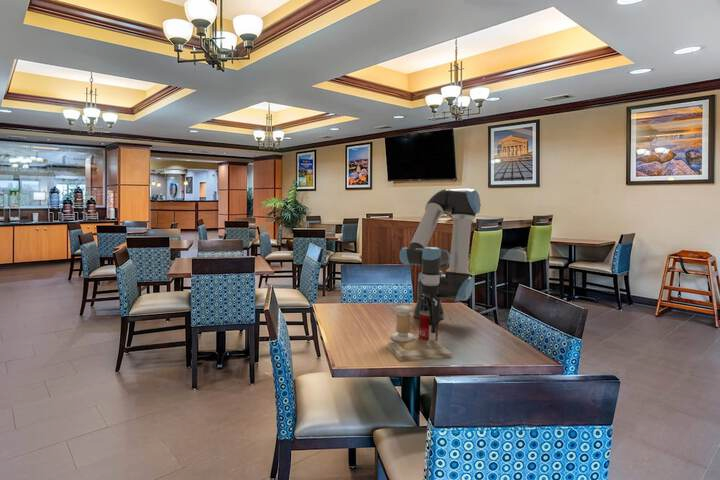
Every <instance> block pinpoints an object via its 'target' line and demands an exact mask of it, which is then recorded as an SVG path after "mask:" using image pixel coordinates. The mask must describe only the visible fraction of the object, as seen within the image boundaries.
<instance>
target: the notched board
mask: <svg viewBox="0 0 720 480" xmlns="http://www.w3.org/2000/svg"><path fill="white" fill-rule="evenodd" d="M426 346H427V347H428V348H429V349H413V350H405V349H404V348H403V347H401V345H400V344H398V342H387V349H389V350H390V352H392V353H391V354H393V355H394V357H396V358H397V359H398V360H399V361H400V362H402V361H417V360H431V359H432V360H433V359H446V358H447V359H448V358H449V359H450V358H452V352H451V351H450V350H448V349H447V348H446V347H445V346H443V345H442V344H441V343H440V342H438V341H436V339H435V340H426Z"/></svg>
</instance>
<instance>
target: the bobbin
mask: <svg viewBox="0 0 720 480" xmlns="http://www.w3.org/2000/svg"><path fill="white" fill-rule="evenodd" d="M393 310H394V311H395V312H397V313H396V320H395V321H396V323H395V325H396V326H395V327H396V328H395V330H396V332H393V333H391V334H390V338H391V339H392V340H393V341H396V342H403V343H407V342H409V343H410V342H413V341H414V340H416V337H415V335H414V334H412V333H410V332H411V317H412V316H411V314H410V313H414V307H413V306H410V305H396V306H394V308H393Z"/></svg>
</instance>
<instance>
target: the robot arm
mask: <svg viewBox="0 0 720 480" xmlns="http://www.w3.org/2000/svg"><path fill="white" fill-rule="evenodd" d="M480 211H481V198H480V194H479V193H478V191H477V189H474V188H472V189H471V188H444V189H441V190H439V191H437V192H436V193H435V194H433V196H431V197H430V199H428V201H427V203H426V204H425V207H424V214H423V215H422V218H421V220H420V221H419V224H418V226H417V228H416V231H415V233H414V234H413V237H412V239H411V241H410V243H409V245H408V247H407V246H406V247H405V246H404V247H402V248H401V249H400V251H399V261H400V263H401V264H403V265H404V264H405V265H410V266H411V265H412V266H421V272H419V274H418V276H417V277H418V278H417V279H418V280H417V301H416V304H415V307H414V308H413V314H412V315H413V317H415V318H416V319H419V315H420V311H422V310H423V311H429V314H430V324H429V340H428V341H433V340H435V341H436V340H437V339H436V325H438V326H439V325H440V320H442V319H444V317H445V312H444V308H443V306H442V305H443V304H442V299H448V300H455V301H464V302H465V301H468V299H470V297H471V295H472V292H473V288H474V278H473V277H472V276H471V272H470V271H469V270H468V264H469V263H468V262H469V253H470V242H471V234H472V233H471V231H472V223H473V220H474V219H475V218H476V214H480ZM446 213H450V216H451V217H452V219H453V226H452V233H451V245H450V246H451V247H450V252H449V251H448V250H446V249H441V248H439V247H436V246H434V247H433V246H428V244H429V242H430V240H431V237H432V235H433V234H434V233H433V232H434V231H435V229H436V227H437V224H438V222H439V219H440V218H441V217H443V215H444V214H446ZM448 265H449V267H448V268H447V269H446V270H445V274H443V271H442V270H441V268H444V267H446V266H448Z"/></svg>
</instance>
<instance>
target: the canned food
mask: <svg viewBox="0 0 720 480" xmlns="http://www.w3.org/2000/svg"><path fill="white" fill-rule="evenodd" d="M418 319H419V321H418V324H419V325H418V337H419V339H421V340H426V341H430V340H429V324H430V314H429V311H423V310H422V311H420V315H419V318H418ZM438 336H439V325H436V339H435V340H437V339H438Z"/></svg>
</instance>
